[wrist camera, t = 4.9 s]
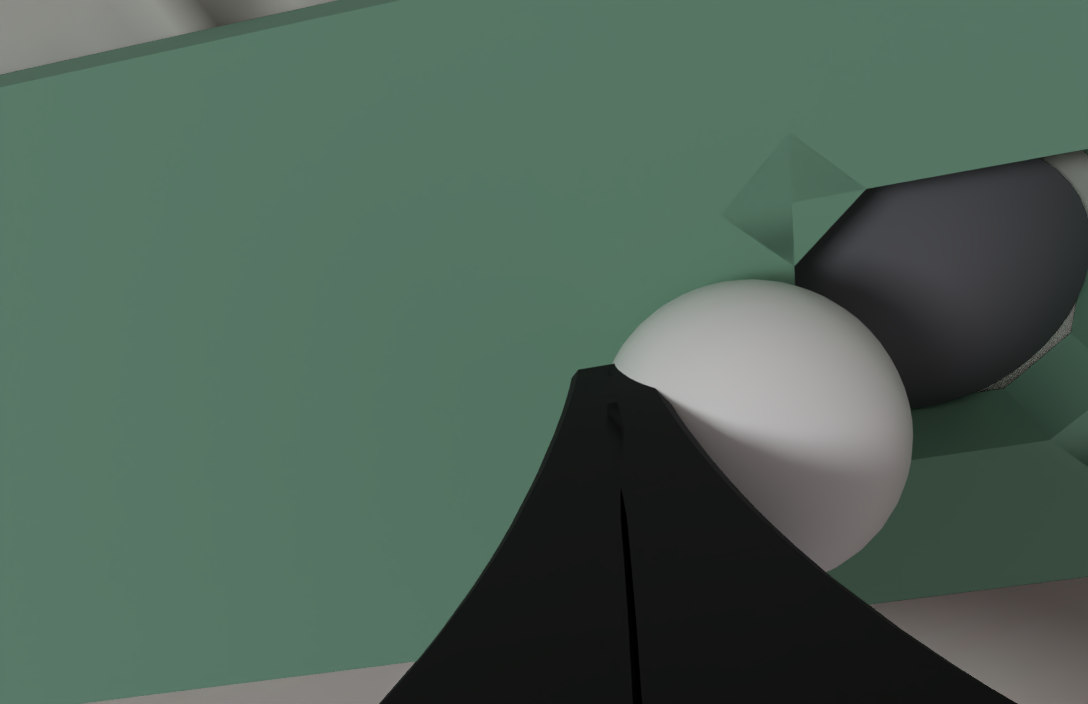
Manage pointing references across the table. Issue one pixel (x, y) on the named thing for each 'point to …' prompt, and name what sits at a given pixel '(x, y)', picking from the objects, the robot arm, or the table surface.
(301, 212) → the putting deck
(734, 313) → the ball
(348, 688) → the table surface
